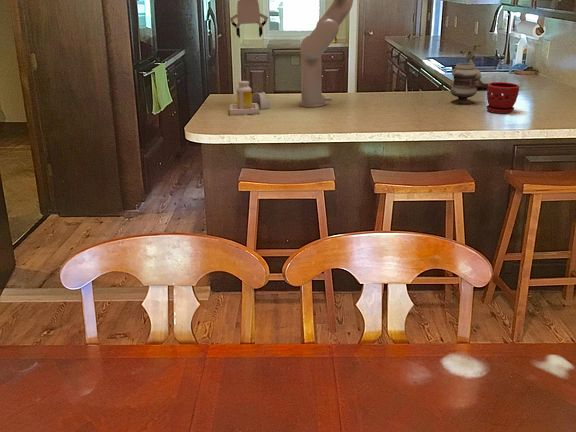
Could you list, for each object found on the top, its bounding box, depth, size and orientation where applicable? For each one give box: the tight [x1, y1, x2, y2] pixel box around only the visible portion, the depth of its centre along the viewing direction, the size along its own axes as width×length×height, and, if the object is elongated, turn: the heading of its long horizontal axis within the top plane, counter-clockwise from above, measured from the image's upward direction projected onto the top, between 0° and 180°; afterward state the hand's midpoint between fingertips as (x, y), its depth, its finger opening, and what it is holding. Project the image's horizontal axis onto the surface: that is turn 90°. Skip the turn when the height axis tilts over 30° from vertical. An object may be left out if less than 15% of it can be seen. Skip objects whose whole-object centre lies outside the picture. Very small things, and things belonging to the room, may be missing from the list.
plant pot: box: [485, 81, 520, 114], centre depth 268 cm, size 13×13×12 cm
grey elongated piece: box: [252, 91, 271, 110], centre depth 295 cm, size 24×12×7 cm, turn 20°
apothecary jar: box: [449, 62, 479, 106], centre depth 288 cm, size 12×12×18 cm
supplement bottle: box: [236, 80, 253, 109], centre depth 277 cm, size 7×7×13 cm
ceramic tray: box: [229, 103, 260, 116], centre depth 279 cm, size 13×13×2 cm
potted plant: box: [451, 44, 490, 90], centre depth 329 cm, size 20×19×25 cm
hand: (249, 36), depth 281 cm, fingers open, 9 cm apart
